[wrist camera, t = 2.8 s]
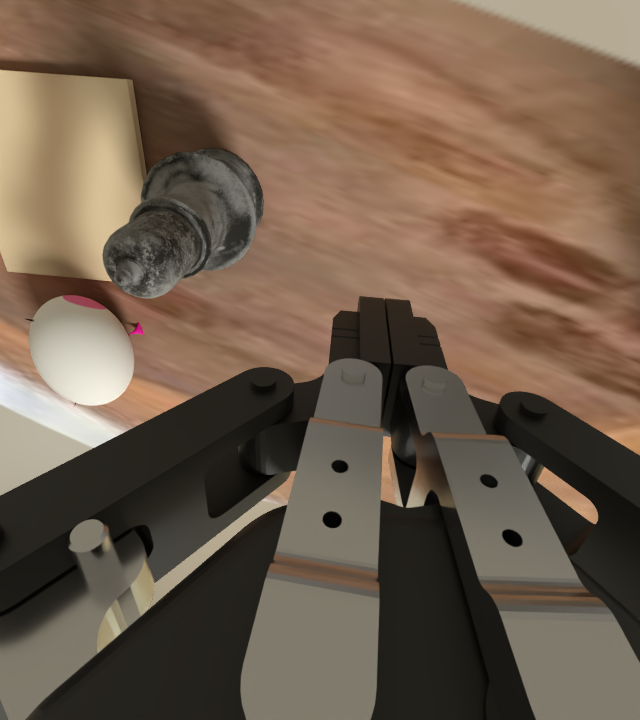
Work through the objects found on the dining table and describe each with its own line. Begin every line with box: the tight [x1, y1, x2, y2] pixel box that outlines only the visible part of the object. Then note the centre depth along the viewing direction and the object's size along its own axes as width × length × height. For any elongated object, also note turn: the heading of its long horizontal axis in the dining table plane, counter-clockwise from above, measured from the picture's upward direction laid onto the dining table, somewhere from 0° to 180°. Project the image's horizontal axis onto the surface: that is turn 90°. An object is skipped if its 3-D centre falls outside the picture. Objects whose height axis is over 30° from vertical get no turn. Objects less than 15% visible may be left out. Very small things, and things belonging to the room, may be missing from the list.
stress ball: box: [27, 295, 144, 406], centre depth 29 cm, size 8×8×7 cm
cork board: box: [0, 70, 147, 281], centre depth 25 cm, size 10×11×1 cm
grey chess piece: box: [102, 148, 264, 298], centre depth 20 cm, size 6×6×12 cm
